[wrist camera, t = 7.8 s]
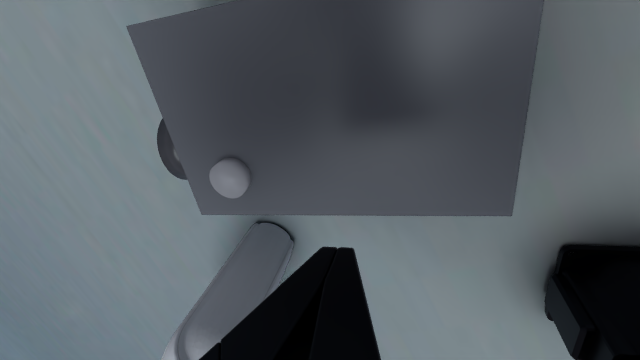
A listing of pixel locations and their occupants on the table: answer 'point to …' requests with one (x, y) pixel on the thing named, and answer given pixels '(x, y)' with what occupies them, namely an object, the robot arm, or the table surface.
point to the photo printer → (233, 291)
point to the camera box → (344, 104)
